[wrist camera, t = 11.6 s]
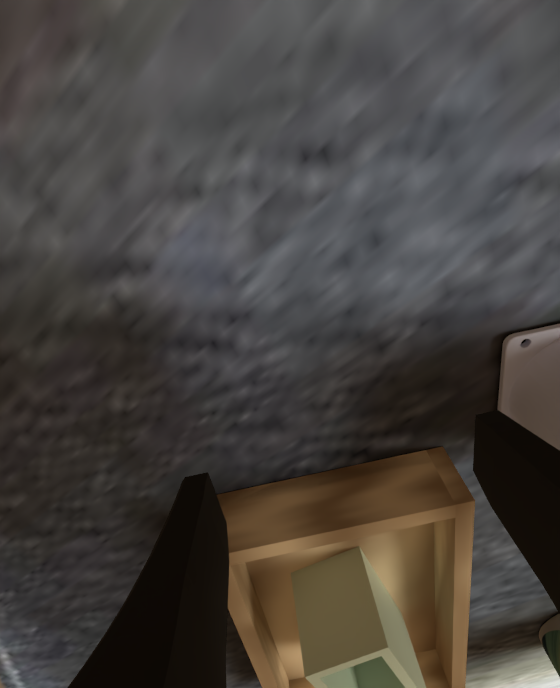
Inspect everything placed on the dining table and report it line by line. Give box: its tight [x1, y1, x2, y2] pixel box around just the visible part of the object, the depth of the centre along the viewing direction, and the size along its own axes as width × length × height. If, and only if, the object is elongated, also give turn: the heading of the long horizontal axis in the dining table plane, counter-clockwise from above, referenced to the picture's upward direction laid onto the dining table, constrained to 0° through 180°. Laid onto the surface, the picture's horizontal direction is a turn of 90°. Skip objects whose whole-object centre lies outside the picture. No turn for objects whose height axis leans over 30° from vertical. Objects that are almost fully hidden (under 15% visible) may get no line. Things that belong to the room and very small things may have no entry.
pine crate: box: [217, 446, 475, 688], centre depth 31 cm, size 14×22×4 cm, turn 10°
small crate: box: [291, 546, 426, 688], centre depth 29 cm, size 5×9×6 cm, turn 25°
